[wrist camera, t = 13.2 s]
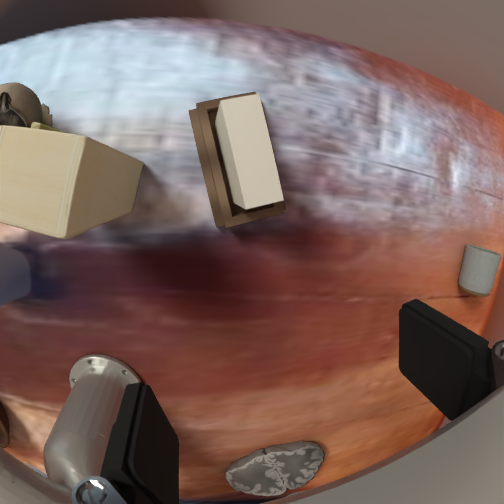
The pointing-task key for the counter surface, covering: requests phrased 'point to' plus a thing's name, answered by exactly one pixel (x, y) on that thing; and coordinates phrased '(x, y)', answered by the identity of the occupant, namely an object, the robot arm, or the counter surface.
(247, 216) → the brown wooden tray
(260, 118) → the rectangular block
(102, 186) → the toy refrigerator
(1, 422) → the dish
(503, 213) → the counter surface
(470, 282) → the ceramic mug
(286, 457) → the brain slice
